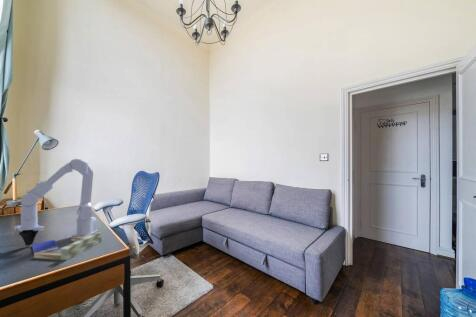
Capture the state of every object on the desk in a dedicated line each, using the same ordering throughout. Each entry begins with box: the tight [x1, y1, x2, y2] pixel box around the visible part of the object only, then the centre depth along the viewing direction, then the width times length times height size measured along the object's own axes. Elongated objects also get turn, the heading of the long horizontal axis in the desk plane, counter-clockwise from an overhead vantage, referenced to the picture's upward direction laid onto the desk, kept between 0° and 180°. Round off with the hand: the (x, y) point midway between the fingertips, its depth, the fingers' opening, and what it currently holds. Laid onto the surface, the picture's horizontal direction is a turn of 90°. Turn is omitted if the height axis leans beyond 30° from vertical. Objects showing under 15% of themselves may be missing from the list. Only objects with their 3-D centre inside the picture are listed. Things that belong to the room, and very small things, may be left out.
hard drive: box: [31, 239, 59, 255], centre depth 96 cm, size 2×8×12 cm
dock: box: [33, 231, 102, 261], centre depth 95 cm, size 19×16×5 cm
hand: (29, 244), depth 97 cm, fingers closed
